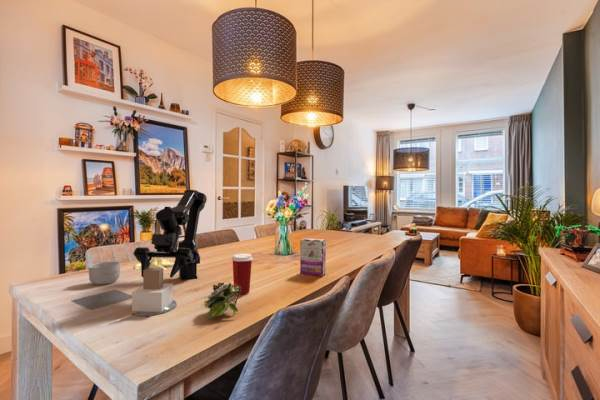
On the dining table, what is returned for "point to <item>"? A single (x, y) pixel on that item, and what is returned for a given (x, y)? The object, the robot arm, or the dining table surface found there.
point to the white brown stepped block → (152, 292)
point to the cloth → (157, 264)
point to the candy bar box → (313, 256)
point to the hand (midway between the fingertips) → (156, 277)
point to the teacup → (104, 272)
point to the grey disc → (167, 309)
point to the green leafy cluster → (221, 299)
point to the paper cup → (242, 272)
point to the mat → (102, 299)
